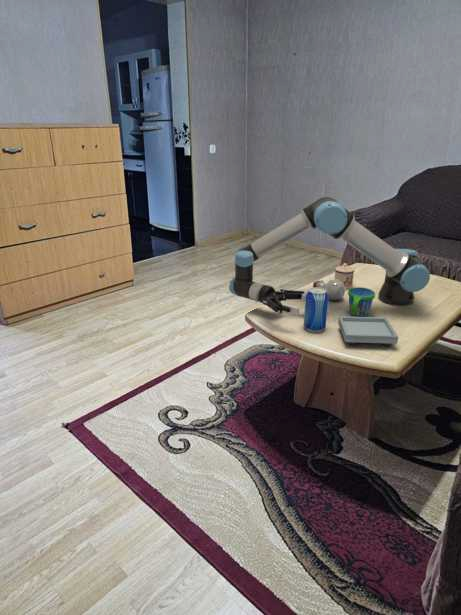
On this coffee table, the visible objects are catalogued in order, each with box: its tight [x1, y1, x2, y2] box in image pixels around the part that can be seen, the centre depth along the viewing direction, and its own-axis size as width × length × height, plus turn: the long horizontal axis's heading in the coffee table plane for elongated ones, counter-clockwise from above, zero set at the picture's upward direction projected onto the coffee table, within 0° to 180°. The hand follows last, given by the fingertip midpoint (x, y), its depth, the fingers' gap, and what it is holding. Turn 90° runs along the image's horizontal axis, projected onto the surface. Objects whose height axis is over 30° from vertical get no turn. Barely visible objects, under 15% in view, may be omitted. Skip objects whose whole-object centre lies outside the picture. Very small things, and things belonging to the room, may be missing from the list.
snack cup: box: [347, 287, 376, 317], centre depth 180 cm, size 16×10×10 cm
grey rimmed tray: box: [337, 315, 399, 348], centre depth 161 cm, size 18×16×5 cm
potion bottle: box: [312, 279, 346, 301], centre depth 197 cm, size 9×10×15 cm
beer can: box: [303, 286, 329, 334], centre depth 166 cm, size 8×8×16 cm
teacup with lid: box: [333, 262, 355, 291], centre depth 211 cm, size 12×9×12 cm
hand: (307, 306), depth 167 cm, fingers open, 13 cm apart
